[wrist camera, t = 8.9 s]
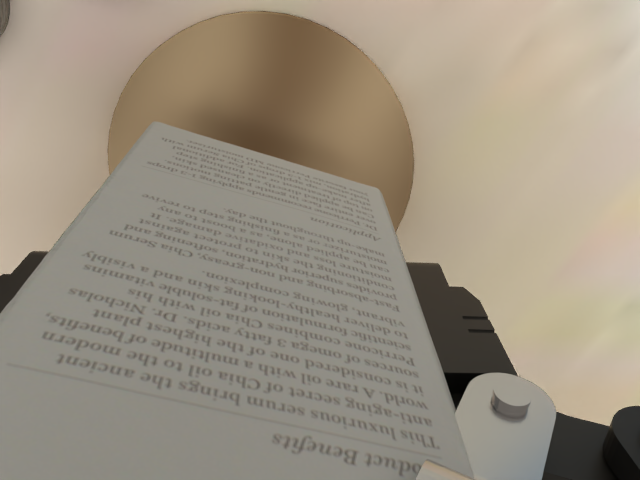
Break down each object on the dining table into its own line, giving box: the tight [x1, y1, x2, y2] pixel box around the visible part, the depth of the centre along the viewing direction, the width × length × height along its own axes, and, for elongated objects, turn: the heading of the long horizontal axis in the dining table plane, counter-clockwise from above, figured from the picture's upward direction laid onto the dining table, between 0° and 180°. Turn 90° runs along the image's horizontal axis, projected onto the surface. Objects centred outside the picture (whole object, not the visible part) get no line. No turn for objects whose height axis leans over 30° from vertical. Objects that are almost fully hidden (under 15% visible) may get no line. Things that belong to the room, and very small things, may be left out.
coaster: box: [108, 11, 414, 232], centre depth 19 cm, size 10×10×1 cm
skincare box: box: [0, 121, 474, 480], centre depth 10 cm, size 6×4×12 cm
